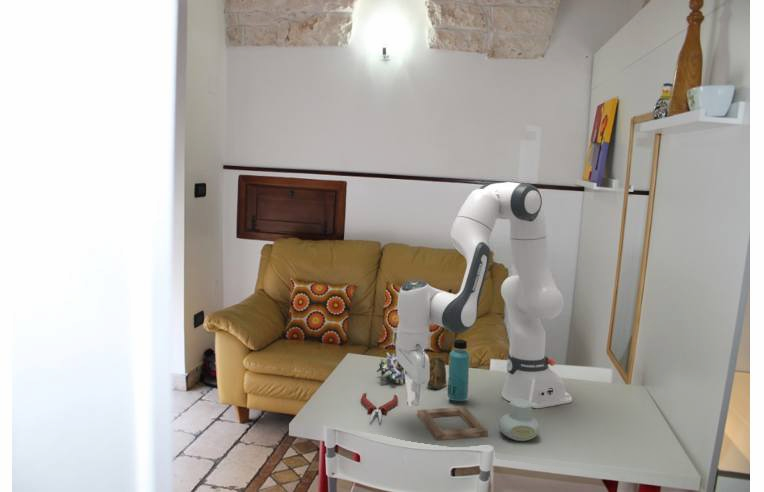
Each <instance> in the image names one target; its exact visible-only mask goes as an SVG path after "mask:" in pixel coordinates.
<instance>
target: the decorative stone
mask: <svg viewBox="0 0 764 492" xmlns="http://www.w3.org/2000/svg"><path fill="white" fill-rule="evenodd" d="M429 366H430V380H429V382H428V383H427V387H432V388H434V389H437V390H441V389H443V388H444V387H445V385H446V384H447V371H446V364H445V358H444V357H440V356H434V357H432V358H431V359H429Z"/></svg>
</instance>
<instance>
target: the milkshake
mask: <svg viewBox="0 0 764 492" xmlns="http://www.w3.org/2000/svg"><path fill="white" fill-rule="evenodd" d="M402 371H403V370H402ZM403 373H404V372H403ZM404 375H405V374H404ZM404 382H406V383H405V392H406V393H405V395H406V404H407V406H410V407H416V406H419V405H420V394H421V393H420V392H421V384H420V385H419V391H418V392H413V391H412V390H411V384H412V377H411V376H410V375H409V374H408V373H407V374H406V375H405V377H404Z"/></svg>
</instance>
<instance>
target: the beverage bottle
mask: <svg viewBox="0 0 764 492" xmlns="http://www.w3.org/2000/svg"><path fill="white" fill-rule="evenodd" d="M467 347H468V343H467V340H465V339H460V338H459V339H455V340H454V341H453V348H454V349H453V350H452V351H450V353H449V363H448V380H447V381H448V383H447V397H448V398H449V399H450V400H452V401H456V402H457V401H458V402H459V401H460V402H463V401H465V400H467V398H468V396H469V395H468V394H469V375H470V374H469V373H470V372H469V371H470V355H471V354H470V353H469V352H468V351H467V350H466V349H467Z"/></svg>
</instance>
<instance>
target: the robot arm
mask: <svg viewBox="0 0 764 492" xmlns="http://www.w3.org/2000/svg"><path fill="white" fill-rule="evenodd" d="M542 204H543V199H542V196H541V193H540V190H539V188H537V186H534V185H532V184H530V183H526V182H525V183H524V182H523V183H520V182H512V181H505V182H498V183H497V182H496V183H495V182H490V183H486V184H484V185H482V186H480V187H479V188H476V189H473V190H472V191H471V193H469V194H468V196H467V198H466V199H465V201H464V202H463V203H462V205H461V207H460V209H459V210H458V213H457V215H456V217H455V219H454V221H453V223H452V226H451V229H450V233H449V235H450V236H449V237H450V240H451V244H452V245H453V247H454V248H455V250H456V251H458V252H459V253H460V254H461V255H462V257H464V259H465V260H466V269H465V271H464V276H463V279H462V282H461V285H460V289H459V291H458V292H457V293H456V294H455V293H451V292H448V291H444V290H443V289H438V288H435V287H433V286H431V285H429V284H428V283H427V282H426V280H420V279H418V280H417V279H416V280H410V281H406V282H404V283H403V284H402V285H401V287H400V289H399V293H398V299H397V316H398V324H397V327H396V328H397V329H396V330H394V332H393V338H394V340H395V345H394V346H395V357H396V358H397V361H398V362H399V363H400V364H401V366H402V367H403V368H404V374H405V375H406V374H407V373H408V374H409V375H410V376H411V377H412V384H411V390H412V391H413V392H418V391H419V385H420V386H421V385H425V384H428V382H429V380H430V358H429V355H428V354H427V353H426V352H425V350H426V349H428V348H429V347H430V325H432V324H434V325H436V326H439V327H442V328H443V329H446V330H448V331H451V332H452V333H454V334H459V335H460V334H463V333H467V331H469V330H470V329H471V328H473V327H474V325H475V323H476V322H477V318H478V313H479V312H478V311H479V303H480V299H481V296H482V292H483V288H484V284H485V280H486V278H487V274H488V269H489V265H490V263H491V256H492V255H491V253H492V252H491V248H490V246H489V241H490V238H491V234H492V232H493V229H494V227H495V225H496V221H497V220H498V219H500V220H508V221H509V241H510V259H511V262H512V265H513V267H514V268H515V270H516V274H515V275H511V276H509V277H507V278H505V279H504V281H503V282H502V284H501V287H500V295H501V297H502V298H503V301H504V303H505V306H506V311H507V316H508V321H509V334H510V335H509V350H508V351H509V352H508V353H507V358H506V376H505V382H504V385H503V387H502V390H501V393H500V396H501V397H502V398H503V399H504V400H506V401H508V402H510V401H511V400H512V399H525V400H527V401H529V402H530V403H531V408H533V409H542V408H548V407H553V406H559V405H565V404H570V403H573V397H572V395H571V394H570V393H569V392H567V391H566V386H565V382H564V380H563V378H561V377H560V375H558V374H557V373H556V372H555V371H554V370H552V369H551V368H550V367H549V366H551V367H553V366H554V365H556V361H555V359H553V358H552V357H551V358H550V357H547V356H546V355H545V353H546V337H547V334H546V333H547V332H546V330H545V328H544V326H543V324H542V321H541V319H544V320H552V319H555V318H556V317H558V316H559V315H560V314H561V313H562V310H563V309H564V304H565V303H564V296H563V294H562V292H561V291H560V290H559V289H558V287H557V285H556V282H555V280H554V277H553V274H552V270H551V267H550V264H549V263H550V262H549V258H548V257H549V256H548V240H547V228H546V225H547V224H546V219H545V216H544V215H545V214H544V211H543V208H542V206H543V205H542ZM404 382H405V381H404ZM405 384H406V382H405Z"/></svg>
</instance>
